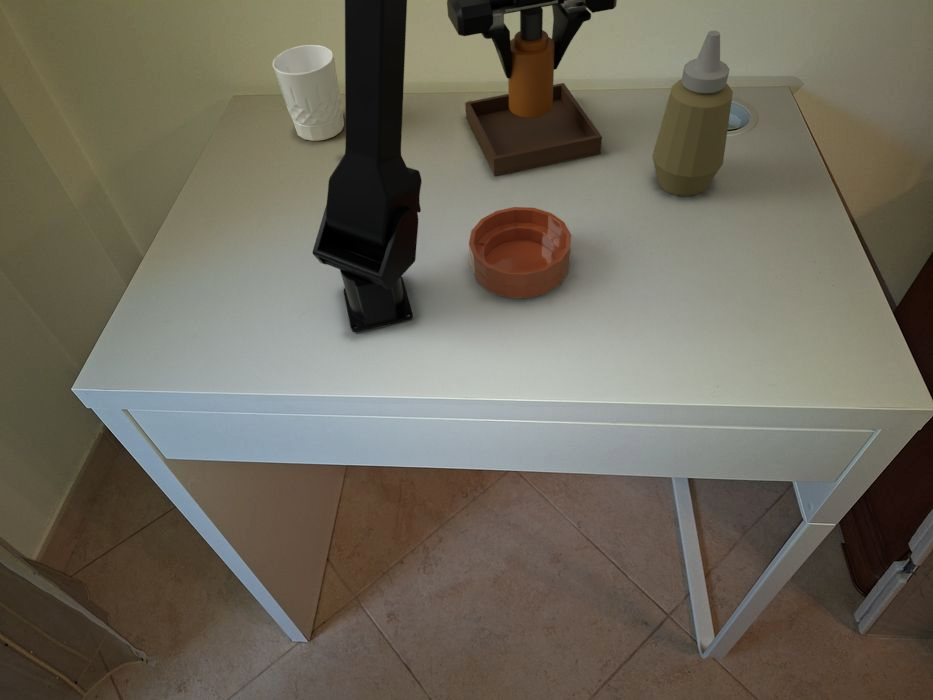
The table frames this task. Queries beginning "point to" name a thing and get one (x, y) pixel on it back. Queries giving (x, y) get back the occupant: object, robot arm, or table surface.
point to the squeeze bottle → (695, 124)
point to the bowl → (520, 252)
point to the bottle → (531, 67)
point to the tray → (532, 133)
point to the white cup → (310, 90)
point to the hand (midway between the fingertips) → (531, 72)
